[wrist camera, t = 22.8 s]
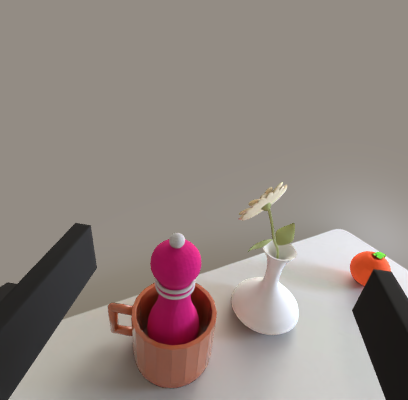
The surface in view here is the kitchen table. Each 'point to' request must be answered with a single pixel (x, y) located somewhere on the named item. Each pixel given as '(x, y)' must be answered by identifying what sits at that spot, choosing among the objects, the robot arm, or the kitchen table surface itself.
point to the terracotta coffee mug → (162, 353)
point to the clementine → (367, 265)
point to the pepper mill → (174, 292)
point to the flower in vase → (268, 277)
